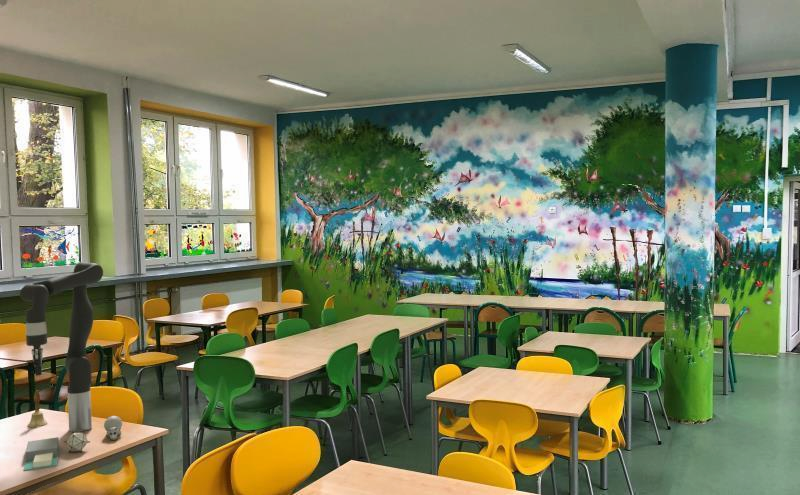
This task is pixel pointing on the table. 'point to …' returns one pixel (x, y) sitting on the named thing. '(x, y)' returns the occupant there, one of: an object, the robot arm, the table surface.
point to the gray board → (42, 448)
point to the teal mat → (30, 467)
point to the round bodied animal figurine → (113, 427)
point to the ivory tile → (43, 460)
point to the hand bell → (37, 413)
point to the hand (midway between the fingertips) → (38, 374)
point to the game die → (77, 441)
